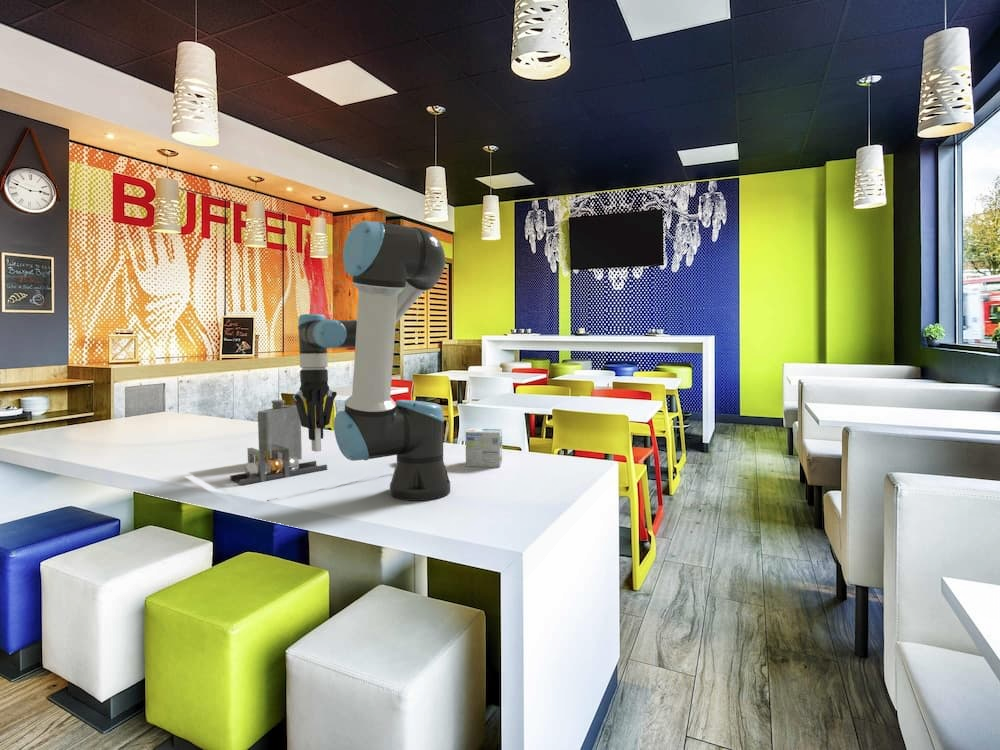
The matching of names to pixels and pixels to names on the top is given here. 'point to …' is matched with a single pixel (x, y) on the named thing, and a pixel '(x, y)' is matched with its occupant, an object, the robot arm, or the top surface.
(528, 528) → the top surface
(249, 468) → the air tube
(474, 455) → the light bulb box
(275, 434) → the hip flask
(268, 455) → the aperture plate
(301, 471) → the black base plate
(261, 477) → the grey metal bracket
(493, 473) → the top surface
